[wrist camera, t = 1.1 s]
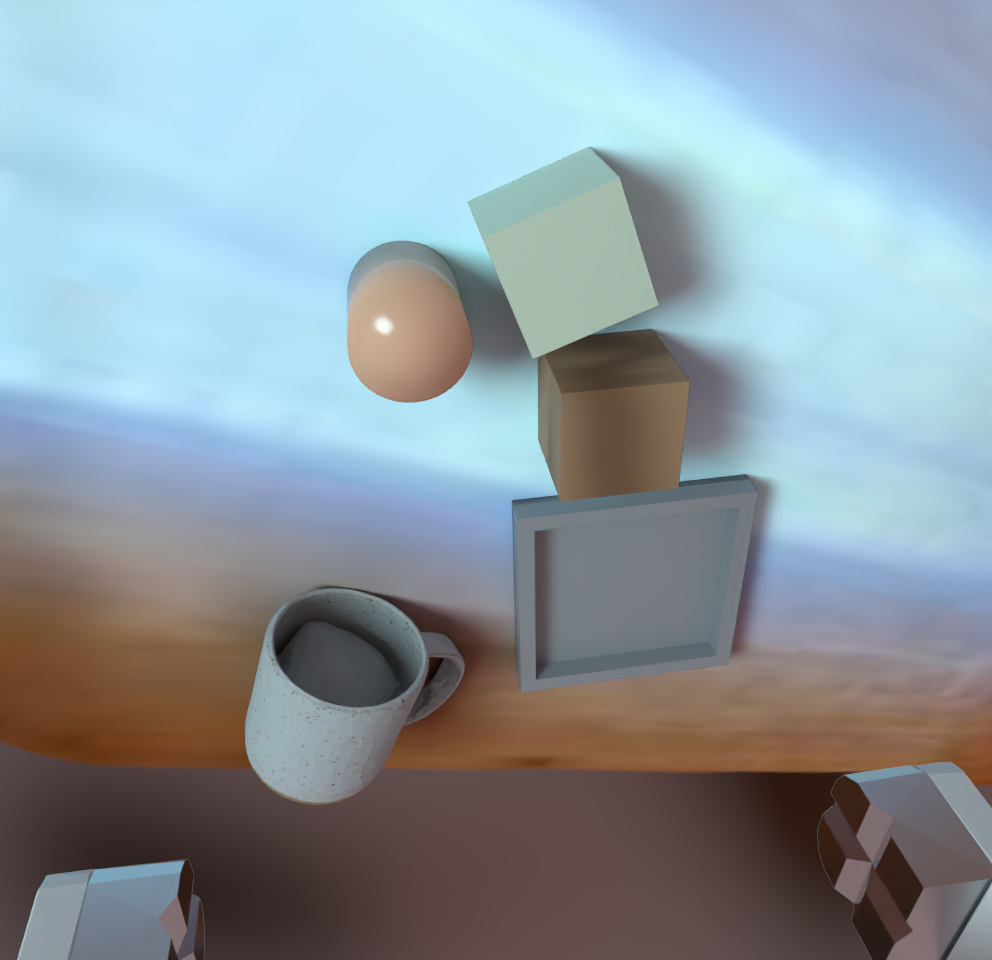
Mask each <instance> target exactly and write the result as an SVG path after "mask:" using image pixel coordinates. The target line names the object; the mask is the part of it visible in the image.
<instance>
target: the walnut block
mask: <svg viewBox="0 0 992 960" xmlns="http://www.w3.org/2000/svg"><path fill="white" fill-rule="evenodd" d="M689 385H690V381H689V379H688V378H687V376H686V375H685V374H684V372H683V371H682V370H681V368H680V367H679V365H678V364H677V363H676V361H675V360H674V358H673V357H672V356H671V354H670V353H669V351H668V350H667V349H666V347H665V346H664V345H663V343H662V342H661V340H660V339H659V338H658V336H657V335H656V333H655V332H654V331H653V329H646V330H635V331H624V332H613V333H602V334H591V335H588V336H586V337H583V338H581V339H579V340H576V341H574V342H572V343H570V344H567V345H565V346H563V347H560V348H558V349H556V350H553V351H551V352H549V353H546V354H544V355H542V356H539V357H538V440H539V443H540V446H541V449H542V452H543V454H544V457H545V460H546V463H547V465H548V468H549V471H550V474H551V477H552V479H553V482H554V485H555V488H556V491H557V493H558V496H559V499H560V502H561V501H570V500H579V499H588V498H597V497H606V496H615V495H624V494H633V493H642V492H651V491H660V490H669V489H678V488H679V479H680V469H681V460H682V451H683V441H684V432H685V422H686V413H687V404H688V394H689Z"/></svg>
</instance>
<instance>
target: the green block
mask: <svg viewBox="0 0 992 960" xmlns="http://www.w3.org/2000/svg"><path fill="white" fill-rule="evenodd" d="M468 204H469V207H470V209H471V212H472V214H473V217H474V219H475V221H476V224H477V226H478V229H479V231H480V234H481V236H482V239H483V241H484V244H485V246H486V248H487V251H488V253H489V256H490V258H491V260H492V263H493V265H494V267H495V270H496V272H497V275H498V277H499V279H500V282H501V284H502V287H503V289H504V291H505V294H506V296H507V299H508V301H509V303H510V306H511V308H512V310H513V313H514V315H515V318H516V320H517V322H518V325H519V327H520V330H521V332H522V334H523V337H524V339H525V341H526V344H527V346H528V349H529V351H530V353H531V356H532V358H533V359H535V358H537V357H539V356H542V355H544V354H546V353H549V352H551V351H553V350H556V349H558V348H560V347H563V346H565V345H567V344H570V343H572V342H574V341H576V340H579V339H581V338H583V337H586V336H588V335H590V334H593V333H595V332H597V331H600V330H602V329H604V328H607V327H609V326H611V325H614V324H616V323H618V322H621V321H623V320H625V319H628V318H630V317H632V316H635V315H637V314H639V313H642V312H644V311H646V310H649V309H651V308H653V307H656V306H658V301H657V298H656V295H655V292H654V288H653V285H652V282H651V278H650V275H649V272H648V269H647V265H646V262H645V259H644V256H643V252H642V249H641V246H640V242H639V239H638V236H637V233H636V229H635V226H634V223H633V220H632V216H631V213H630V210H629V206H628V203H627V200H626V197H625V193H624V190H623V187H622V184H621V180H620V177H619V176H618V175H617V174H616V173H615V172H614V171H613V170H612V169H611V168H610V167H609V166H608V165H607V164H606V163H605V162H604V161H603V160H602V159H601V158H600V157H599V156H598V155H597V154H596V153H595V152H594V151H593V150H592V149H591V148H590V147H587V148H585V149H583V150H581V151H578V152H576V153H574V154H572V155H569V156H567V157H565V158H563V159H561V160H558V161H556V162H554V163H552V164H550V165H547V166H545V167H543V168H541V169H539V170H536V171H534V172H532V173H530V174H528V175H525V176H523V177H521V178H519V179H516V180H514V181H512V182H510V183H508V184H505V185H503V186H501V187H499V188H497V189H494V190H492V191H490V192H488V193H486V194H483V195H481V196H479V197H477V198H474V199H472V200H470V201H468Z"/></svg>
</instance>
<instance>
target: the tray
mask: <svg viewBox="0 0 992 960" xmlns="http://www.w3.org/2000/svg"><path fill="white" fill-rule="evenodd" d="M757 495H758V491H757V490H756V488H755V487H754V485H753V484H752V483H751V481H750V480H749V478H748V477H747V475H738V476H729V477H720V478H711V479H702V480H693V481H684V482H679V488H678V489H669V490H660V491H651V492H642V493H633V494H624V495H615V496H606V497H597V498H588V499H579V500H570V501H561V502H560V499H559V496H550V497H541V498H532V499H523V500H514V501H512V517H513V555H514V592H515V629H516V666H517V676H518V680H519V685H520V689H521V692H528V691H535V690H543V689H550V688H557V687H565V686H572V685H580V684H587V683H594V682H602V681H609V680H617V679H624V678H631V677H639V676H646V675H654V674H661V673H668V672H676V671H683V670H691V669H698V668H705V667H713V666H720V665H727V664H729V660H730V654H731V649H732V643H733V637H734V631H735V625H736V619H737V613H738V607H739V601H740V595H741V589H742V584H743V578H744V572H745V566H746V560H747V554H748V548H749V542H750V536H751V530H752V524H753V518H754V513H755V507H756V501H757Z"/></svg>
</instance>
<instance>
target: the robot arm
mask: <svg viewBox="0 0 992 960" xmlns="http://www.w3.org/2000/svg"><path fill="white" fill-rule="evenodd" d="M831 794H832V796H833V798H834V799H835V801H836V804H835V805H834V806H832V807H831V808H830V809H829V810H828V811H826V812H825V813H824V814H823V815H822V818H821V821H820V824H819V827H818V830H817V837H818V847H819V854H820V857H821V860H822V863H823V866H824V869H825V871H826V873H827V875H828V877H829V879H830V881H831V883H832V885H833V887H834V888H835V889H836V890H837V891H839V892H840V893H841V894H842V895H844V896H845V897H847V898H848V899H849V900H851V901H852V902H853V903H854V909H853V916H852V923H853V925H854V926H855V928H856V930H857V932H858V934H859V936H860V938H861V939H862V941H863V943H864V945H865V947H866V949H867V950H868V952H869V954H870V956H871V958H872V960H992V808H991V807H990V806H989V804H988V803H987V802H986V801H985V799H984V798H983V796H982V795H981V794H980V793H979V791H978V790H977V789H976V787H975V786H974V785H973V783H972V782H971V781H970V779H969V778H968V777H967V776H966V774H965V773H964V772H963V771H962V770H961V769H960V768H959V767H958V766H956V765H955V764H953V763H952V762H938V763H931V764H924V765H918V766H902V767H896V768H889V769H882V770H875V771H868V772H861V773H854V774H848V775H843V776H842V777H840V778H839V779H837V780H836V782H835V784H834V786H833V789H832V791H831ZM193 879H194V874H193V871H192V867H191V864H190V861H189V859H183V860H174V861H166V862H157V863H149V864H141V865H131V866H123V867H114V868H106V869H92V870H84V871H77V872H70V873H62V874H53V875H47V876H46V878H45V880H44V881H43V883H42V885H41V886H40V888H39V890H38V891H37V894H36V898H35V901H34V905H33V908H32V911H31V915H30V918H29V922H28V925H27V928H26V932H25V935H24V938H23V942H22V945H21V949H20V952H19V955H18V959H17V960H204V934H205V933H204V931H205V928H204V918H203V910H202V906H201V901H200V898H199V897H197V896H195V895H193V894H192V888H193Z"/></svg>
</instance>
